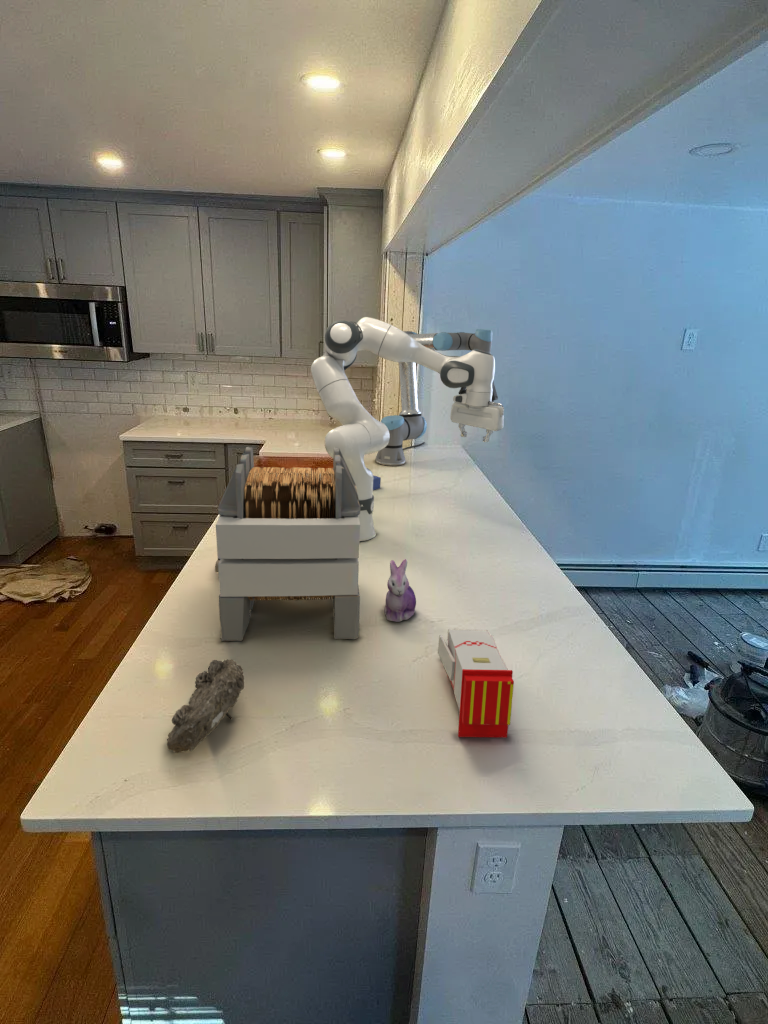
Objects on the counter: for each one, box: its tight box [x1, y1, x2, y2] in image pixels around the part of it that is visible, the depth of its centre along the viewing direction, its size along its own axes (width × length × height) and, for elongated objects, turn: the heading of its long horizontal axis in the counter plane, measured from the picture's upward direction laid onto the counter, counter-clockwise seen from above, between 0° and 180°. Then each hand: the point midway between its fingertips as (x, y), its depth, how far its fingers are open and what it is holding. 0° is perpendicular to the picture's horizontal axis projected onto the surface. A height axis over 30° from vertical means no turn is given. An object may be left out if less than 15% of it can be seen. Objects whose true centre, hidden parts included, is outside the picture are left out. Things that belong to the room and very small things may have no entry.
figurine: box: [384, 558, 417, 623], centre depth 145 cm, size 9×10×15 cm
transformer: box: [215, 446, 361, 642], centre depth 142 cm, size 34×33×41 cm
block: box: [373, 474, 382, 491], centre depth 248 cm, size 5×5×5 cm
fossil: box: [166, 658, 245, 754], centre depth 106 cm, size 22×10×15 cm
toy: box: [437, 628, 515, 738], centre depth 117 cm, size 12×13×30 cm
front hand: (474, 439), depth 198 cm, fingers open, 8 cm apart
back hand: (476, 412), depth 261 cm, fingers open, 13 cm apart
